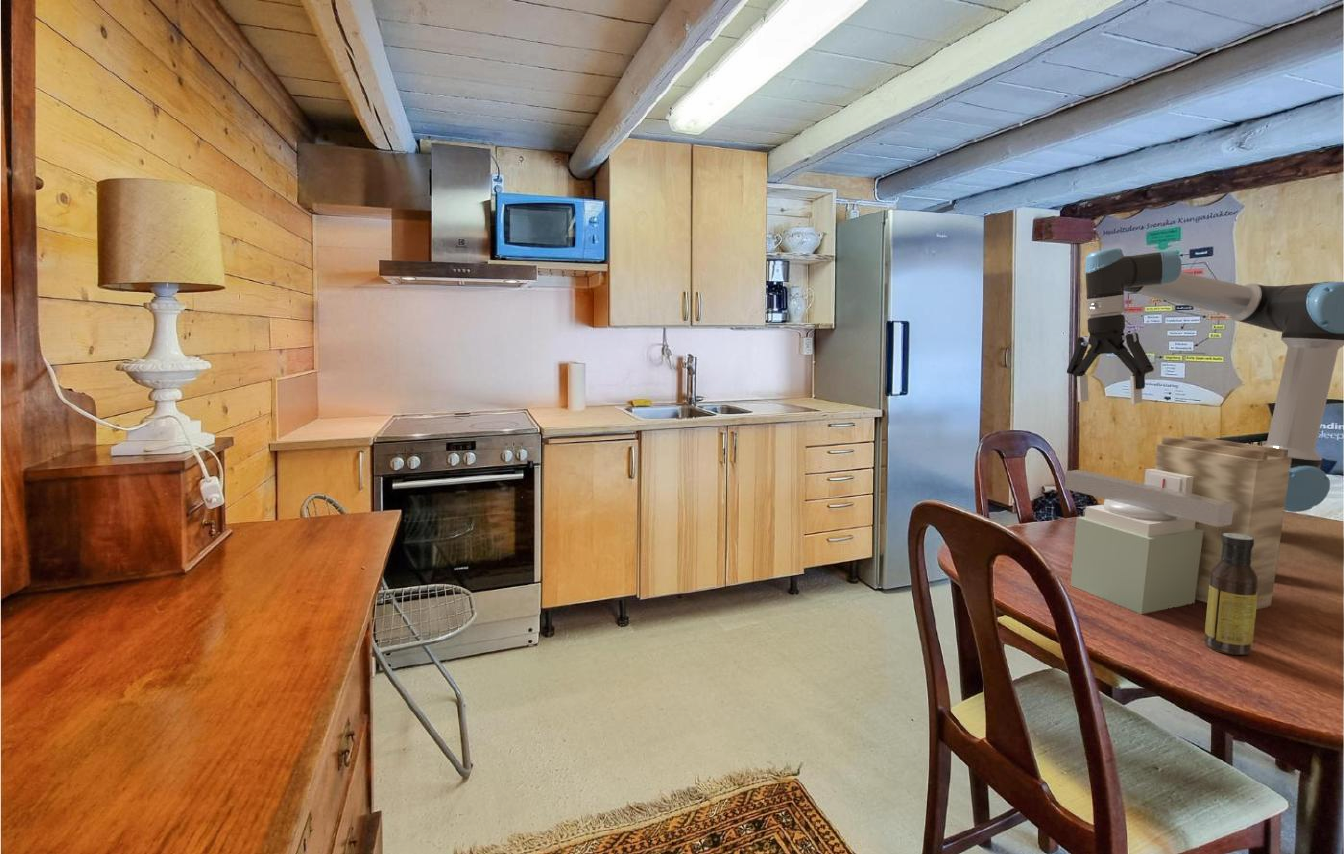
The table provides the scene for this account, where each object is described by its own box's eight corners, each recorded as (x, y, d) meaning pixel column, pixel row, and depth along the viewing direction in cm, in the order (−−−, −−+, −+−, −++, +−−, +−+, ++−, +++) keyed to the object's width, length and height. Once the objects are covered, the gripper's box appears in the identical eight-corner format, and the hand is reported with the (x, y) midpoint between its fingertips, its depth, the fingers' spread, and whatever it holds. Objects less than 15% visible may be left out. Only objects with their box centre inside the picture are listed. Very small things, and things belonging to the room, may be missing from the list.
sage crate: (1070, 585, 138) (1076, 517, 135) (1120, 576, 142) (1127, 510, 140) (1141, 614, 123) (1149, 539, 121) (1194, 603, 128) (1203, 530, 126)
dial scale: (1084, 518, 135) (1089, 471, 133) (1135, 511, 140) (1140, 466, 138) (1147, 536, 123) (1153, 485, 121) (1201, 528, 127) (1207, 479, 126)
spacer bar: (1064, 488, 143) (1066, 471, 143) (1077, 487, 145) (1079, 469, 144) (1217, 526, 116) (1219, 505, 115) (1231, 524, 117) (1234, 503, 116)
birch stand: (1142, 579, 140) (1158, 437, 136) (1174, 574, 144) (1190, 434, 139) (1237, 613, 123) (1258, 452, 119) (1270, 606, 127) (1293, 449, 122)
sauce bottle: (1260, 654, 108) (1276, 540, 105) (1231, 659, 107) (1247, 543, 104) (1220, 637, 114) (1234, 529, 111) (1192, 641, 113) (1206, 531, 110)
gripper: (1048, 321, 167) (1052, 402, 169) (1147, 311, 143) (1149, 405, 145) (1070, 318, 169) (1074, 398, 171) (1170, 308, 145) (1173, 401, 148)
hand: (1108, 402), depth 158 cm, fingers open, 13 cm apart
